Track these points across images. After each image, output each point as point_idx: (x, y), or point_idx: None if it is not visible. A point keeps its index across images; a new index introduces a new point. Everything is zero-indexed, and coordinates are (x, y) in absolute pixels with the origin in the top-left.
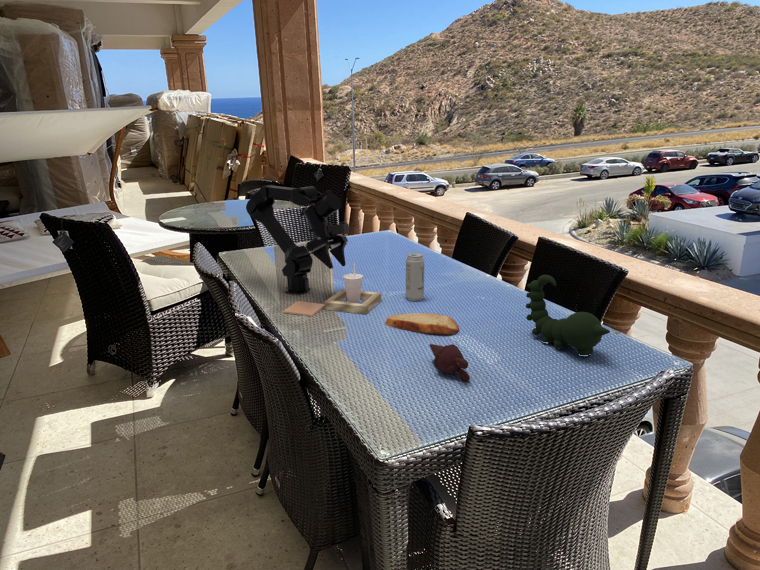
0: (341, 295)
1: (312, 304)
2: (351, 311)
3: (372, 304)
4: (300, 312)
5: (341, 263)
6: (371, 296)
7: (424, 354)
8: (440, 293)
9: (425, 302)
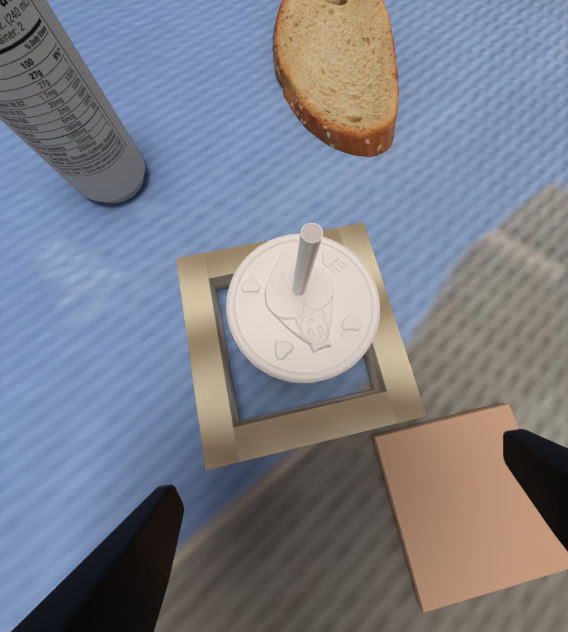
0: (285, 414)
1: (414, 496)
2: None
3: None
4: None
5: (168, 549)
6: None
7: (482, 7)
8: None
9: (140, 135)
